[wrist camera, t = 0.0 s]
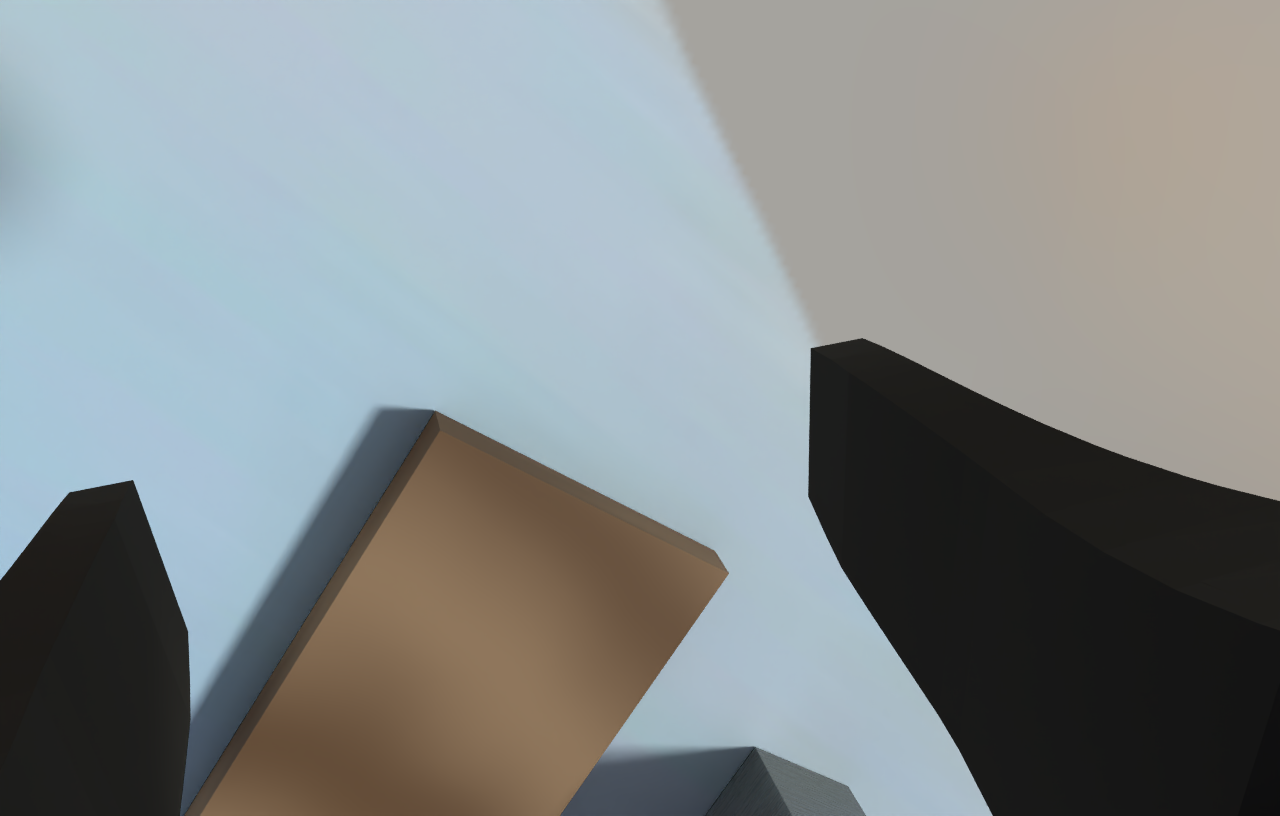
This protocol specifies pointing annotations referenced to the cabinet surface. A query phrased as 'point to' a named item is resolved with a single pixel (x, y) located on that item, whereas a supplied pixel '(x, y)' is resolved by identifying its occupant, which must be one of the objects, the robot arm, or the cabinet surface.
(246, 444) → the cabinet surface
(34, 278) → the cabinet surface
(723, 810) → the grey post
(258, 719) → the hinge jig
